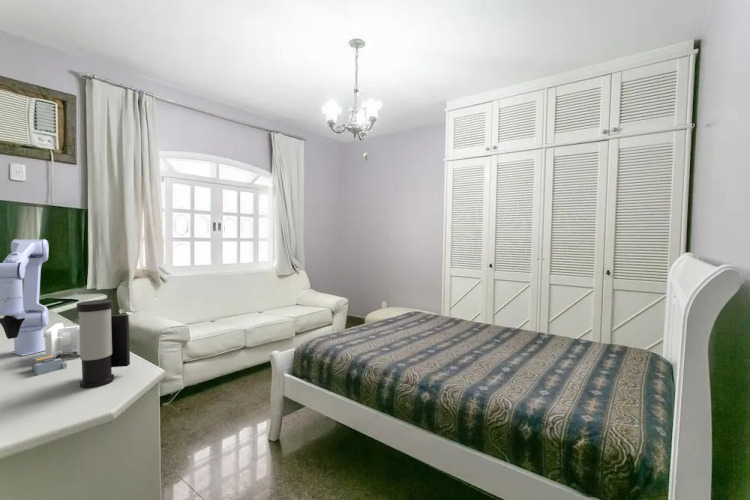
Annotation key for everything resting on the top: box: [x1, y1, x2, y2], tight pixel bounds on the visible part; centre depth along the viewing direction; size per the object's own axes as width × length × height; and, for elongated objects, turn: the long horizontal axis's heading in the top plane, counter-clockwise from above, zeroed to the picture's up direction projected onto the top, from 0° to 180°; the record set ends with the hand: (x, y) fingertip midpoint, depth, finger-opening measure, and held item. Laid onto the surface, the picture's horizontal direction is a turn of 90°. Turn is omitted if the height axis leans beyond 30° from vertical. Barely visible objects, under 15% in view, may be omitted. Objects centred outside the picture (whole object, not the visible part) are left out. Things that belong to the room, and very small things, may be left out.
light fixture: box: [76, 299, 131, 389], centre depth 106 cm, size 12×11×25 cm
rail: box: [62, 361, 68, 369], centre depth 121 cm, size 18×1×2 cm, turn 65°
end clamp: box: [33, 357, 63, 376], centre depth 115 cm, size 2×6×4 cm, turn 155°
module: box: [30, 354, 56, 371], centre depth 117 cm, size 6×4×4 cm
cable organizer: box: [44, 322, 80, 359], centre depth 131 cm, size 15×11×12 cm
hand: (12, 337), depth 117 cm, fingers closed
